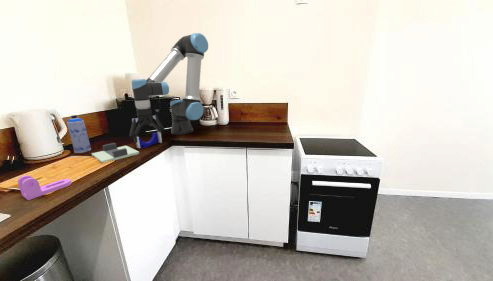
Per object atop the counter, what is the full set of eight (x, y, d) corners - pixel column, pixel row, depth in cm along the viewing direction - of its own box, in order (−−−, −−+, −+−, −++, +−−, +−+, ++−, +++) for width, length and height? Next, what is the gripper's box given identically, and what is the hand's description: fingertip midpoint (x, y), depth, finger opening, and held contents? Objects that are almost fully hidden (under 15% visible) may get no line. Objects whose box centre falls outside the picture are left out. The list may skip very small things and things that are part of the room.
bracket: (28, 200, 71) (21, 181, 69) (22, 196, 74) (16, 178, 72) (74, 184, 82) (69, 167, 80) (68, 181, 85) (63, 164, 83)
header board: (126, 147, 125) (125, 140, 124) (139, 153, 113) (137, 146, 112) (92, 155, 113) (90, 148, 112) (102, 163, 101) (100, 155, 100)
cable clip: (140, 148, 122) (138, 138, 120) (136, 147, 125) (134, 137, 123) (160, 142, 131) (158, 133, 129) (156, 141, 134) (154, 132, 132)
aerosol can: (93, 147, 127) (84, 113, 122) (88, 151, 120) (79, 115, 114) (77, 149, 125) (67, 115, 119) (72, 153, 117) (61, 117, 112)
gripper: (161, 105, 131) (166, 139, 138) (117, 110, 115) (125, 149, 121) (167, 105, 127) (172, 141, 133) (122, 111, 110) (130, 151, 116)
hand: (150, 144), depth 127 cm, fingers closed on cable clip, 12 cm apart
